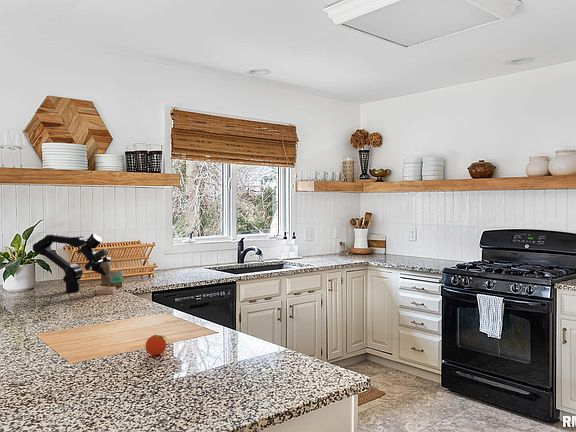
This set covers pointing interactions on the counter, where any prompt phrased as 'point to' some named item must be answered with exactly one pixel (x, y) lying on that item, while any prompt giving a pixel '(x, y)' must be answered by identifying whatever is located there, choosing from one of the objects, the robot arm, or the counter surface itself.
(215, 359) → the counter surface
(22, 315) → the counter surface
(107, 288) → the terracotta base
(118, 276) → the food container
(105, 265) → the walnut cylinder
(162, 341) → the tomato
